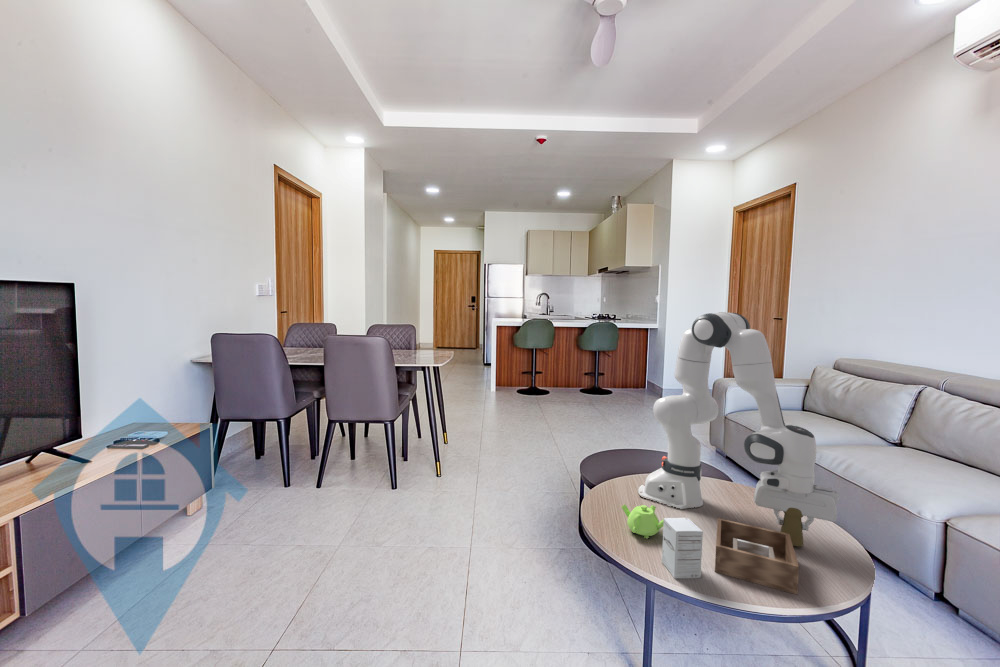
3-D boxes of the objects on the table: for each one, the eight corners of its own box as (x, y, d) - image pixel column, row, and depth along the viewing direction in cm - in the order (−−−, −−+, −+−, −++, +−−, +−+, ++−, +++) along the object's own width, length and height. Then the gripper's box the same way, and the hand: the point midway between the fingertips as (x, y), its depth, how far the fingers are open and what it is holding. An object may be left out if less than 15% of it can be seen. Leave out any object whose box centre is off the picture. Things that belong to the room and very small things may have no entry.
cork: (804, 540, 126) (807, 504, 126) (802, 548, 122) (805, 511, 121) (780, 533, 130) (783, 498, 130) (777, 540, 126) (780, 504, 125)
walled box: (714, 571, 111) (716, 545, 111) (716, 540, 127) (717, 518, 127) (797, 594, 103) (798, 566, 102) (788, 558, 118) (789, 534, 118)
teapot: (630, 541, 125) (631, 514, 125) (619, 522, 137) (620, 497, 136) (667, 542, 125) (669, 515, 125) (653, 523, 137) (655, 498, 136)
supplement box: (660, 562, 115) (662, 517, 114) (686, 562, 115) (688, 516, 115) (673, 579, 108) (675, 531, 107) (701, 578, 108) (703, 530, 108)
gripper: (836, 485, 123) (833, 531, 124) (755, 471, 132) (752, 513, 133) (842, 493, 117) (838, 541, 118) (756, 477, 127) (753, 522, 128)
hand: (792, 526), depth 126 cm, fingers closed on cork, 5 cm apart
